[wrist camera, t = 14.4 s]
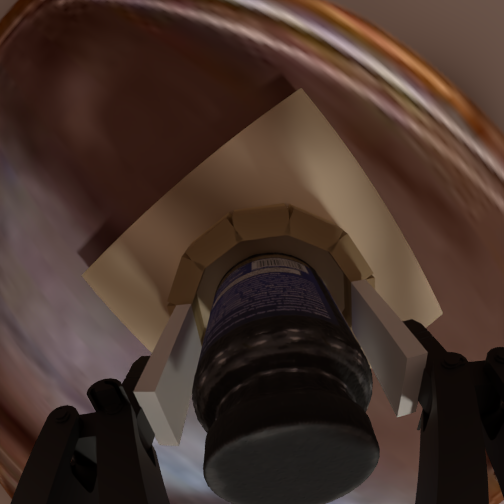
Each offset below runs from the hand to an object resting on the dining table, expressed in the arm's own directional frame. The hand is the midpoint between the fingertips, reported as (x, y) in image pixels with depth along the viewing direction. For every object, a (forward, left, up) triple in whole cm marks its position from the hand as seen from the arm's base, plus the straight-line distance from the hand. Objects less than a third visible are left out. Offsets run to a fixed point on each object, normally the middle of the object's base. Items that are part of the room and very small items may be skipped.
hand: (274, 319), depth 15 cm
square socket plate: (0, 0, -3) cm, 3 cm away
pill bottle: (0, 0, -2) cm, 2 cm away
